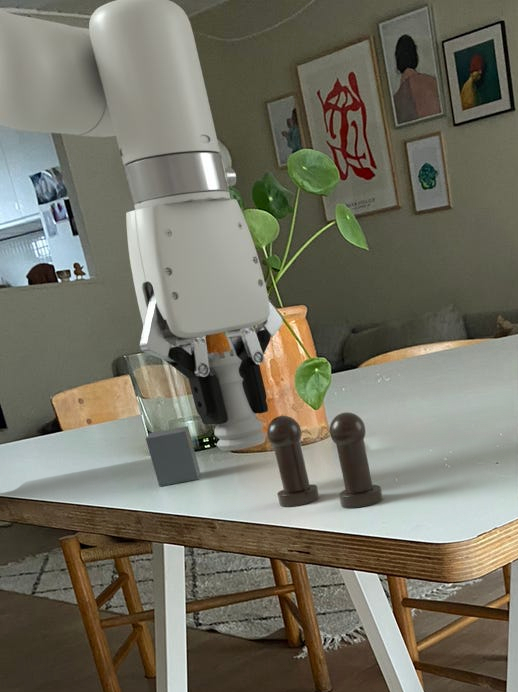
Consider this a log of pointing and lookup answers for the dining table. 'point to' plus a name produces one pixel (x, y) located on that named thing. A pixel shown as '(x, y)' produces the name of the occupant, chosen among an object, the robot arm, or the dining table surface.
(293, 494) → the pawn
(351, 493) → the pawn
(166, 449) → the grey block
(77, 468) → the dining table surface
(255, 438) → the rook chess piece
